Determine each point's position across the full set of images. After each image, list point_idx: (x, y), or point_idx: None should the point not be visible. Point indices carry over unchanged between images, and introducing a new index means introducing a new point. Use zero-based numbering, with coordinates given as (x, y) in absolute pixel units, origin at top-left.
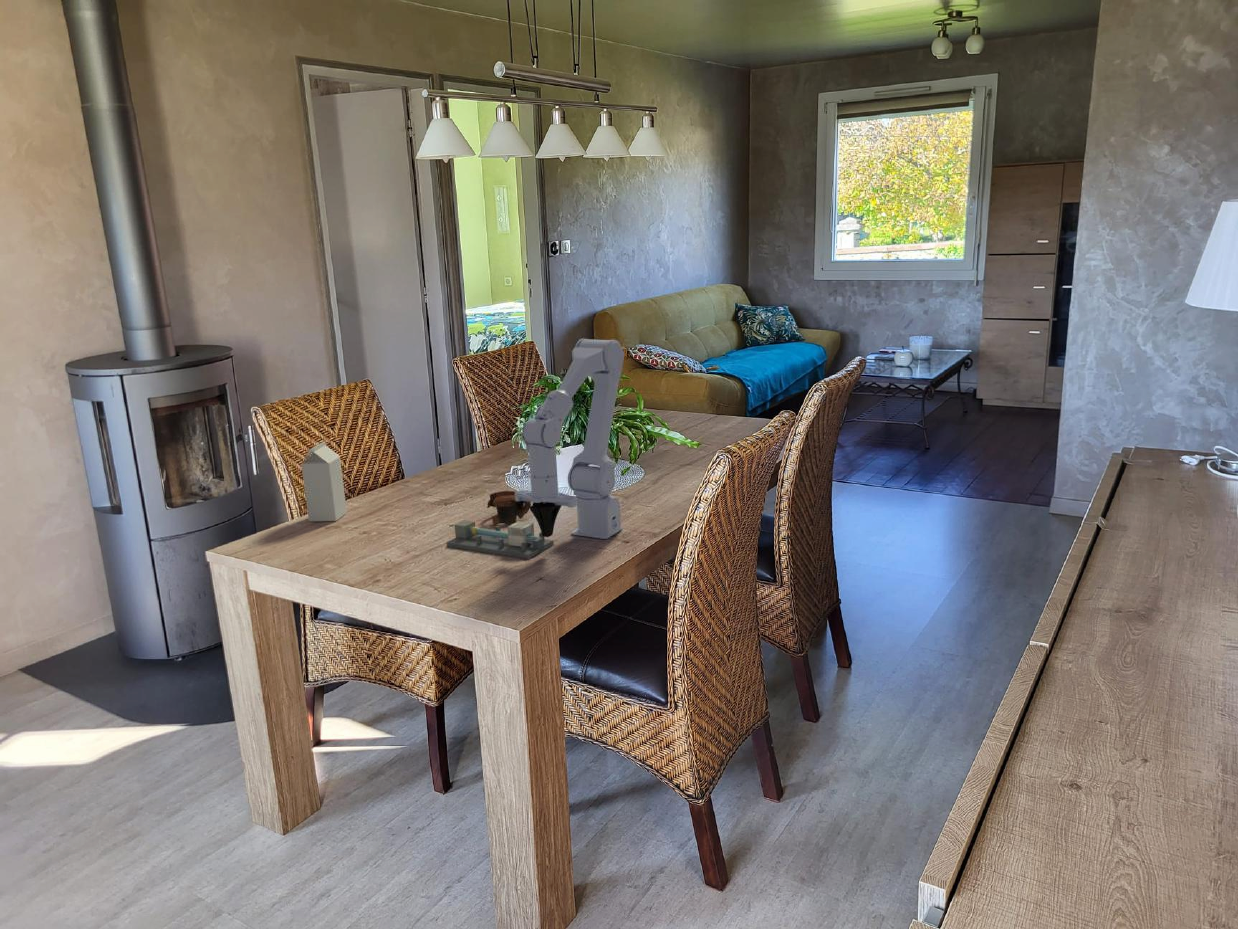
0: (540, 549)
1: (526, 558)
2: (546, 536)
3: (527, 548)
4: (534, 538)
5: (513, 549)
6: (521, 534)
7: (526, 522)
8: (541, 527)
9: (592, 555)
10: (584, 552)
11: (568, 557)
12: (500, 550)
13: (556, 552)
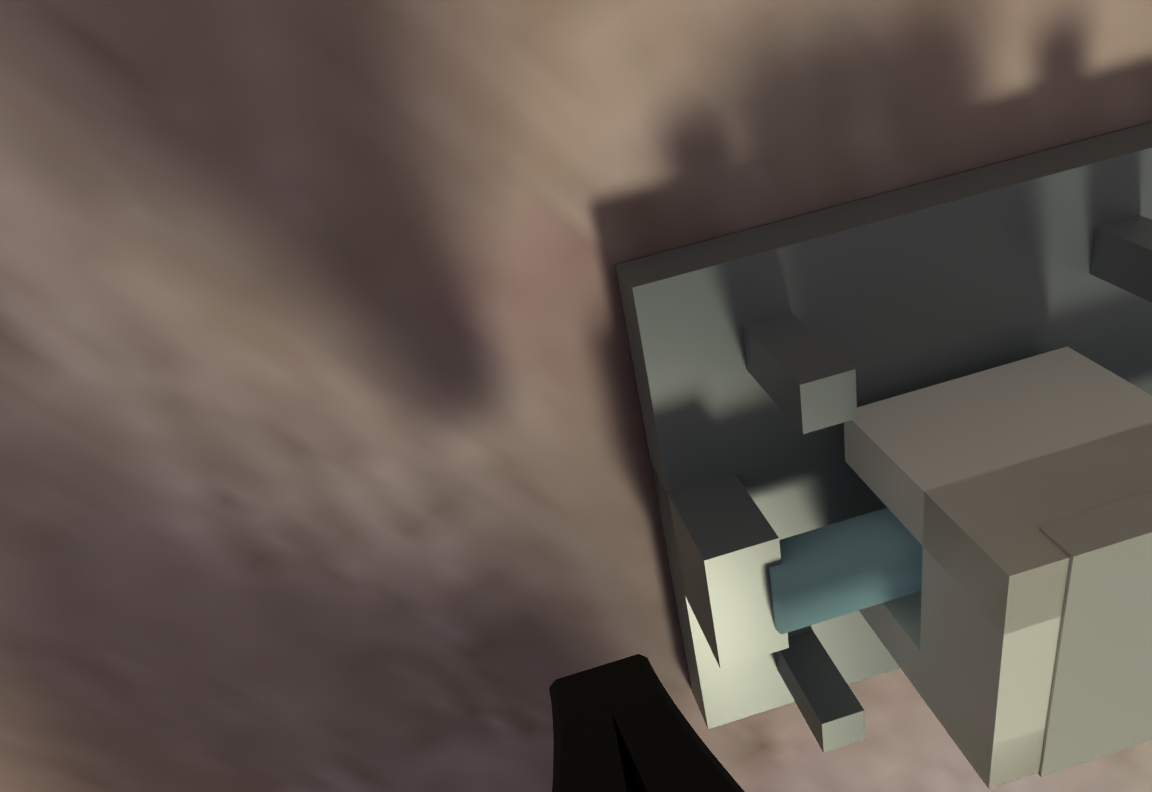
0: (667, 522)
1: (644, 259)
2: (572, 682)
3: (798, 430)
4: (787, 583)
5: (939, 301)
6: (974, 505)
7: (1100, 747)
8: (674, 774)
9: (91, 779)
10: (247, 769)
11: (250, 599)
12: (1080, 167)
13: (500, 601)
